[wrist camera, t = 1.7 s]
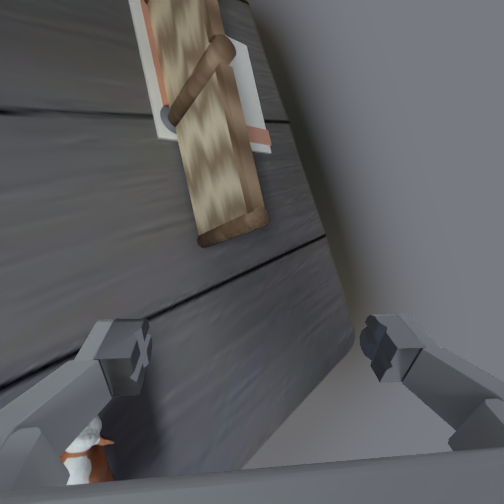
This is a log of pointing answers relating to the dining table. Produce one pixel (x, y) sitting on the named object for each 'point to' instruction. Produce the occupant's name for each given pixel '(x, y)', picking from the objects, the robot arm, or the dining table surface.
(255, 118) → the card
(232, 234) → the fence panel
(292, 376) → the dining table surface
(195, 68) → the fence fixed
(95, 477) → the bull figurine
